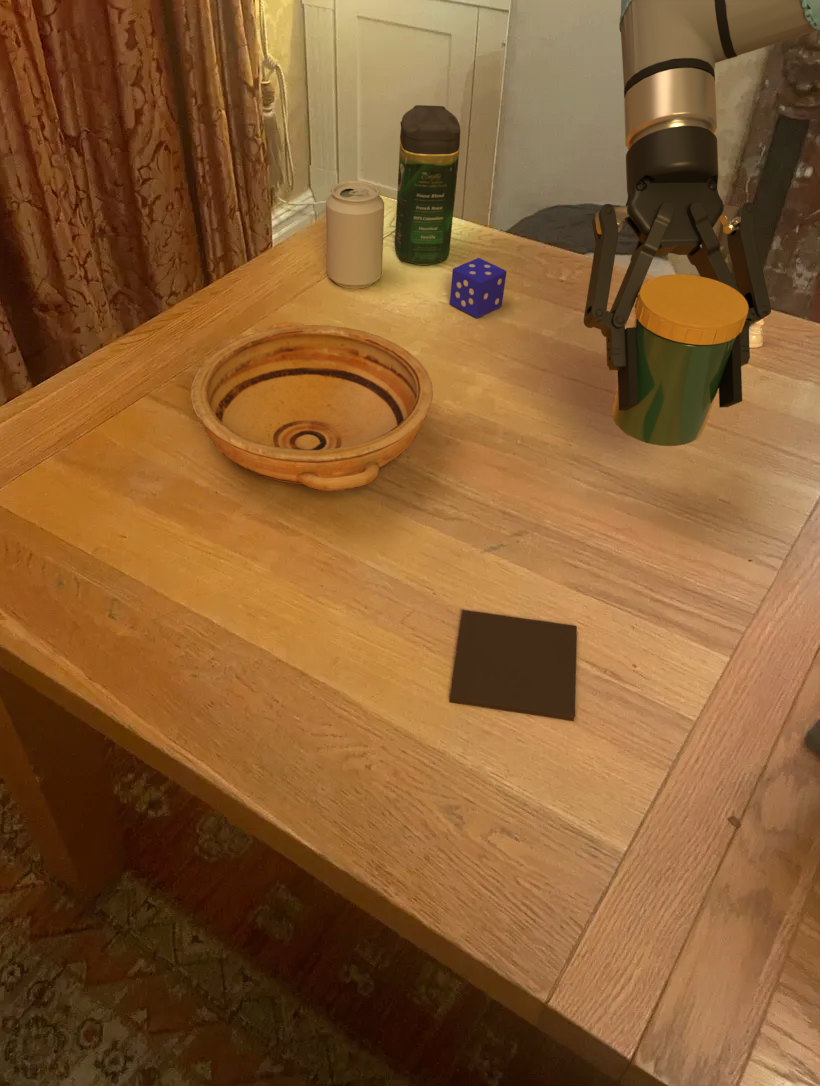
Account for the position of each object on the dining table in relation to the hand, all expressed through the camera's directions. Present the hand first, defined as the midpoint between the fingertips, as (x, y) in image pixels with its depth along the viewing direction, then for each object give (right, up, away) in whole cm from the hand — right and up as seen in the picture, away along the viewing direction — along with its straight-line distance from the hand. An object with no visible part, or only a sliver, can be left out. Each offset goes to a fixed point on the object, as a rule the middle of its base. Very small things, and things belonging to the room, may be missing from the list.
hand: (679, 405), depth 79 cm
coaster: (-15, -22, -2) cm, 27 cm away
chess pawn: (+21, +15, +36) cm, 44 cm away
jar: (0, 0, +5) cm, 5 cm away
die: (-13, +22, +41) cm, 48 cm away
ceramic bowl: (-33, -1, +18) cm, 38 cm away
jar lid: (0, +8, -3) cm, 9 cm away
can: (-29, +27, +45) cm, 60 cm away
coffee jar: (-19, +33, +51) cm, 64 cm away
